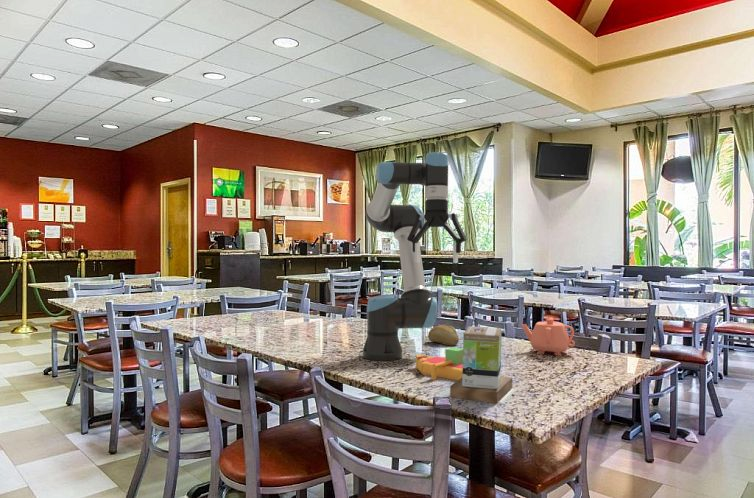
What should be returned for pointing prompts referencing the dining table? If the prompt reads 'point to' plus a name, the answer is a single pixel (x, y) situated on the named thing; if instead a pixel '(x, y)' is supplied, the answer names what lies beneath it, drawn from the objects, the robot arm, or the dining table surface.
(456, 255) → the robot arm
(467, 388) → the pedestal
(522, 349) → the dining table surface
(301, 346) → the dining table surface
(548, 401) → the dining table surface
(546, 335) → the teapot
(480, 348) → the tea box
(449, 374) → the raft
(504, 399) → the blueprint board
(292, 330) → the dining table surface
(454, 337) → the bread roll
